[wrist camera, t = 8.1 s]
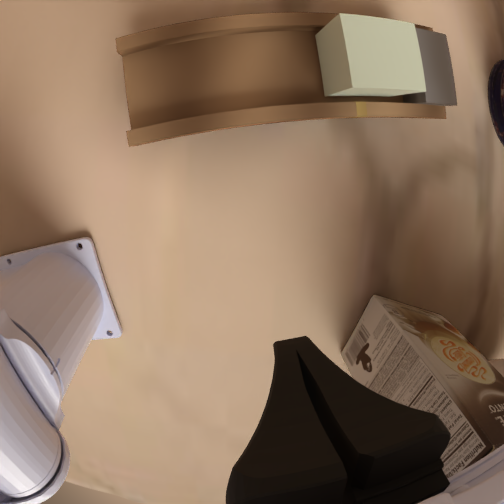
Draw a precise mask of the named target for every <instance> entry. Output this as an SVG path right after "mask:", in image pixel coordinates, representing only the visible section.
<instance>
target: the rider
mask: <svg viewBox="0 0 504 504" xmlns="http://www.w3.org/2000/svg"><path fill="white" fill-rule="evenodd" d="M315 37H316V43H317V49H318V55H319V61H320V67H321V74H322V80H323V87H324V95H325V97H327V96H382V97H391V96H397V95H404V94H411V93H419V92H426V85H425V78H424V71H423V65H422V59H421V54H420V48H419V43H418V38H417V34H416V29H415V25H414V23H410V22H405V21H399V20H393V19H387V18H380V17H373V16H365V15H355V14H344V13H339V14H338V15H337V16H336V17H335V18H333V19H332V20H331V21H330V22H329V23H328V24H327V25H326V26H325V27H324V28H323V29H322V30H320V31H319V32H318V33H317V34H316V35H315Z"/></svg>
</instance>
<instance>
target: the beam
mask: <svg viewBox="0 0 504 504" xmlns="http://www.w3.org/2000/svg"><path fill="white" fill-rule="evenodd" d="M337 15H338V14H333V13H307V12H283V13H258V14H244V15H233V16H224V17H216V18H208V19H201V20H195V21H189V22H183V23H178V24H173V25H168V26H163V27H159V28H154V29H150V30H146V31H142V32H138V33H134V34H130V35H127V36H123V37H120V38H116V47H117V52H118V53H119V54H120V55H122V58H123V68H124V78H125V87H126V95H127V103H128V110H129V117H130V124H131V130H130V131H126V132H127V139H128V145H129V147H130V146H138V145H142V144H147V143H151V142H156V141H161V140H166V139H171V138H176V137H181V136H186V135H192V134H197V133H203V132H209V131H215V130H222V129H229V128H236V127H243V126H251V125H260V124H269V123H278V122H289V121H301V120H315V119H333V118H364V117H399V118H434V119H446V111H445V106H453V105H457V99H456V91H455V83H454V76H453V70H452V64H451V58H450V53H449V48H448V43H447V38H446V35H445V34H442V33H437V32H433V30H432V28H430V27H425V26H421V25H416V24H414V25H415V29H416V34H417V38H418V43H419V48H420V54H421V59H422V65H423V71H424V78H425V85H426V92H419V93H411V94H404V95H397V96H391V97H382V96H327V97H325V95H324V87H323V80H322V74H321V67H320V61H319V55H318V49H317V43H316V37H315V35H316V34H317V33H318V32H319V31H320V30H322V29H323V28H324V27H325V26H326V25H327V24H328V23H329V22H330V21H331V20H332V19H333V18H335V17H336V16H337Z"/></svg>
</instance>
